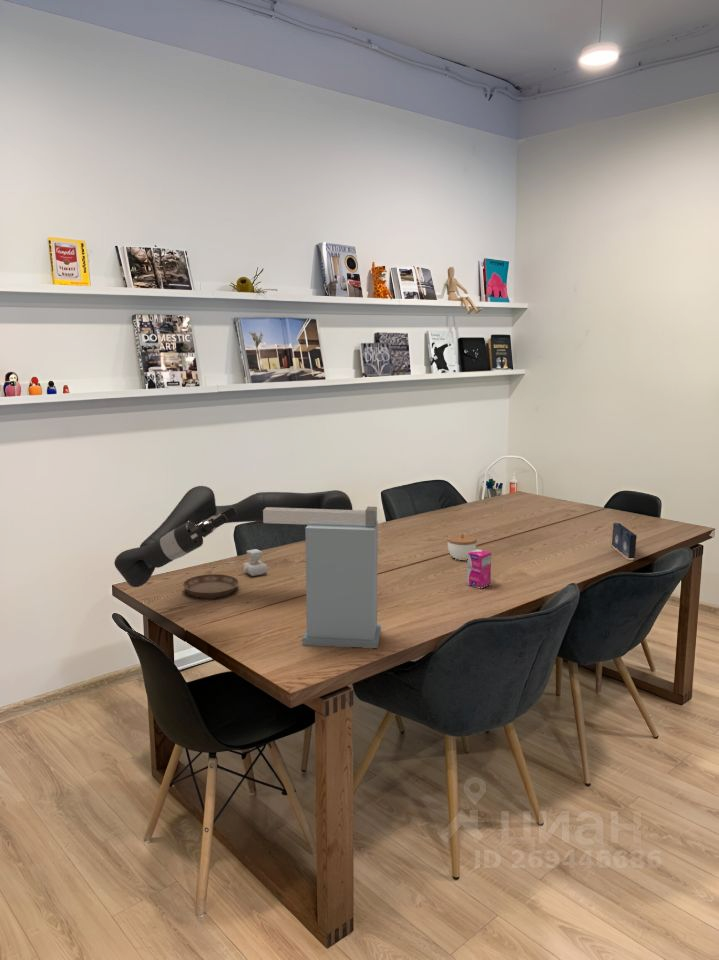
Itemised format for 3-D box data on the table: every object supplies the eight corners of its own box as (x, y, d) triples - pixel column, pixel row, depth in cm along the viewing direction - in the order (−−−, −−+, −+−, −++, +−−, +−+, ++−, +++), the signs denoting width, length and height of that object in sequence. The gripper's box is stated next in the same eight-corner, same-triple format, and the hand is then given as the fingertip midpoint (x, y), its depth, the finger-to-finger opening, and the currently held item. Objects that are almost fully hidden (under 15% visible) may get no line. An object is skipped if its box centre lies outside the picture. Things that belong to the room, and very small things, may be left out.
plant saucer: (250, 588, 243) (249, 579, 243) (213, 604, 229) (213, 595, 228) (209, 579, 252) (209, 570, 252) (171, 594, 237) (171, 585, 237)
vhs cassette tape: (635, 561, 273) (636, 535, 272) (626, 561, 273) (628, 535, 272) (618, 547, 291) (620, 522, 290) (611, 547, 291) (612, 522, 290)
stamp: (247, 579, 252) (247, 555, 251) (239, 574, 257) (238, 550, 256) (271, 574, 257) (270, 551, 255) (262, 569, 262) (262, 546, 261)
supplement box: (466, 585, 246) (467, 552, 244) (476, 581, 250) (477, 548, 248) (480, 589, 242) (481, 555, 240) (491, 585, 246) (492, 552, 244)
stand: (302, 645, 198) (300, 528, 192) (310, 627, 210) (309, 517, 204) (377, 648, 196) (377, 531, 190) (380, 631, 208) (381, 519, 202)
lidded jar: (475, 554, 281) (475, 530, 279) (476, 563, 271) (477, 538, 269) (446, 553, 282) (447, 529, 280) (447, 562, 272) (447, 537, 270)
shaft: (262, 523, 197) (262, 506, 197) (267, 519, 202) (266, 503, 201) (374, 527, 194) (375, 510, 193) (376, 523, 198) (377, 506, 197)
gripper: (164, 536, 195) (215, 507, 192) (183, 523, 209) (231, 496, 206) (179, 560, 196) (230, 532, 193) (197, 545, 210) (244, 519, 207)
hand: (230, 513), depth 200 cm, fingers open, 8 cm apart
